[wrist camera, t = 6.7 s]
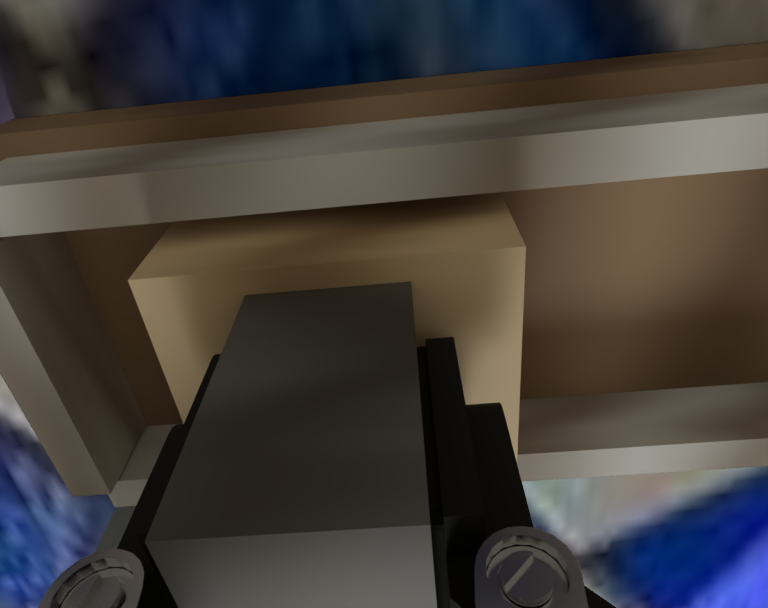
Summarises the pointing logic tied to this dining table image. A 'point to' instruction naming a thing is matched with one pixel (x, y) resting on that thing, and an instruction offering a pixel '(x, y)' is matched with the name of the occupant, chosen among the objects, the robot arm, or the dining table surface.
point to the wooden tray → (412, 182)
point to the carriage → (321, 391)
